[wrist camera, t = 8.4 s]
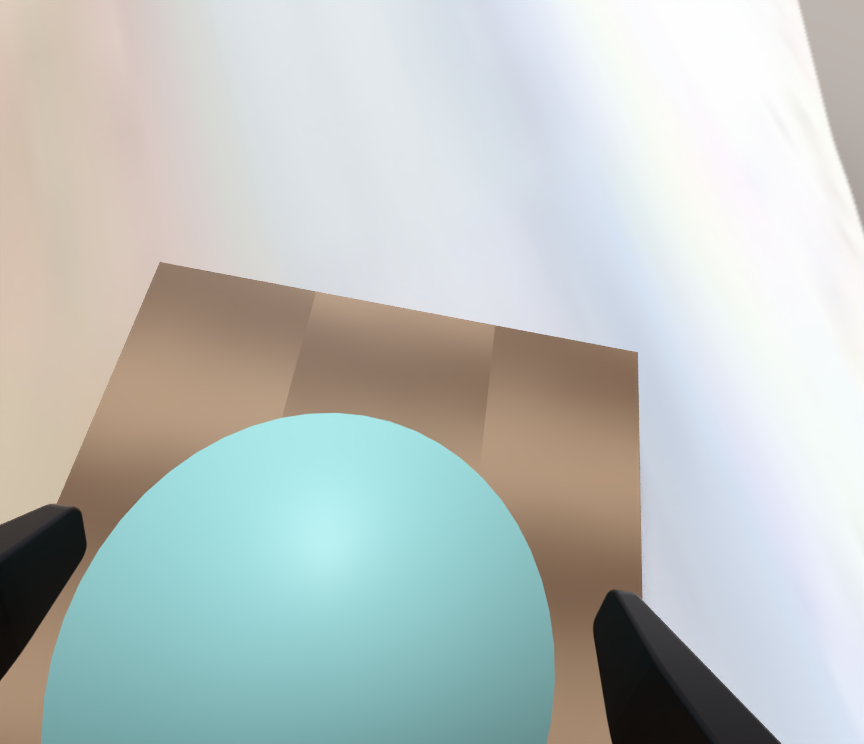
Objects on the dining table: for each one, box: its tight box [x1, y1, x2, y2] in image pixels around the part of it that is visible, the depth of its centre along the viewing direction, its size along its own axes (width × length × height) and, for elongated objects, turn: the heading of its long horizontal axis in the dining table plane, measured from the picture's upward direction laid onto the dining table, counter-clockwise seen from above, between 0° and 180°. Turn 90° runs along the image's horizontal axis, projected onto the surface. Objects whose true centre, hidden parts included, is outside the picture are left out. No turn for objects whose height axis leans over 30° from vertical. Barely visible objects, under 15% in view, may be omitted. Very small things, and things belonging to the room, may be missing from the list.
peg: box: [41, 413, 555, 744], centre depth 9 cm, size 4×4×12 cm
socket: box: [0, 262, 642, 744], centre depth 13 cm, size 16×16×3 cm
